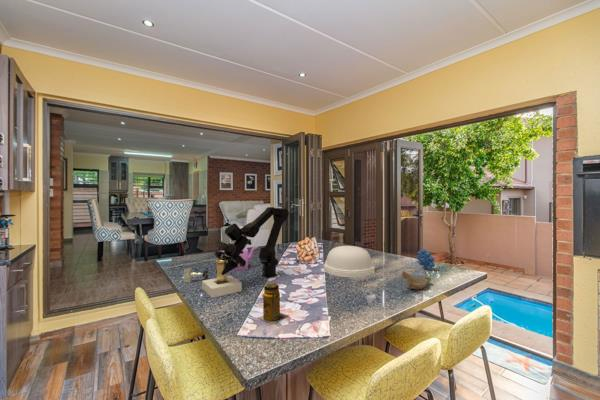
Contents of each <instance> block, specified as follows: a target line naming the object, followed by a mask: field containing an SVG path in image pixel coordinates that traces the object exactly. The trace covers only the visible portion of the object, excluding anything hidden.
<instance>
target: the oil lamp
mask: <svg viewBox="0 0 600 400" xmlns="http://www.w3.org/2000/svg"><path fill="white" fill-rule="evenodd" d="M401 277H402V279H405V280H406V286H407V288H408V289H413V290H422V289H424V288H425V287H426V285H427V284H428V283H430V282H431V281H432V278H431V277H423V278H418V277H413V276H412V275H410V274H409V273H407V272H406V271H405V270H403V271H402V273H401Z"/></svg>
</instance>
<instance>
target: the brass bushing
mask: <svg viewBox="0 0 600 400" xmlns="http://www.w3.org/2000/svg"><path fill="white" fill-rule="evenodd" d="M227 261H228V259H227V258H219V259H218V258H216V259H215V263H216V269H217V273H216V278H217V284H223V283H227V276H228V275H227V273H226V274H224V275H222V274H221V273H222V271H223V270H224V268H225V266H226V262H227Z"/></svg>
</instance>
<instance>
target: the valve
mask: <svg viewBox="0 0 600 400" xmlns="http://www.w3.org/2000/svg"><path fill="white" fill-rule="evenodd" d="M201 276H202V277H203V278H204V279H205V280H209V267H205V270H204V271H202V272H198V273H197V272H196V271H192V268H191V267H188V268H187V267H186V268H184V269H183V277H182V278H183V282H184V283H191V282H192V281H193V280H192V279H193V278H194V279H195V278H196V277H201Z"/></svg>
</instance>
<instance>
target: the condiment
mask: <svg viewBox="0 0 600 400" xmlns="http://www.w3.org/2000/svg"><path fill="white" fill-rule="evenodd" d="M279 288H280V287H279V284H277V283H267V284H265V285H264V289H263V291H264V292H263V295H262V297H263V298H262V299H263V303H262V305H263V307H262V311H263V313H262V314H263V315H262V316H260V317H258V319H260V320H262V321H264V322H266V323H269V324H271V325H273V324H275V323H277V322H279V321H281V320H283V319H285V318H287V317H289V315H288V314H286V313H285V314H284V313H282V312H281V293H280V289H279Z"/></svg>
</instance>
